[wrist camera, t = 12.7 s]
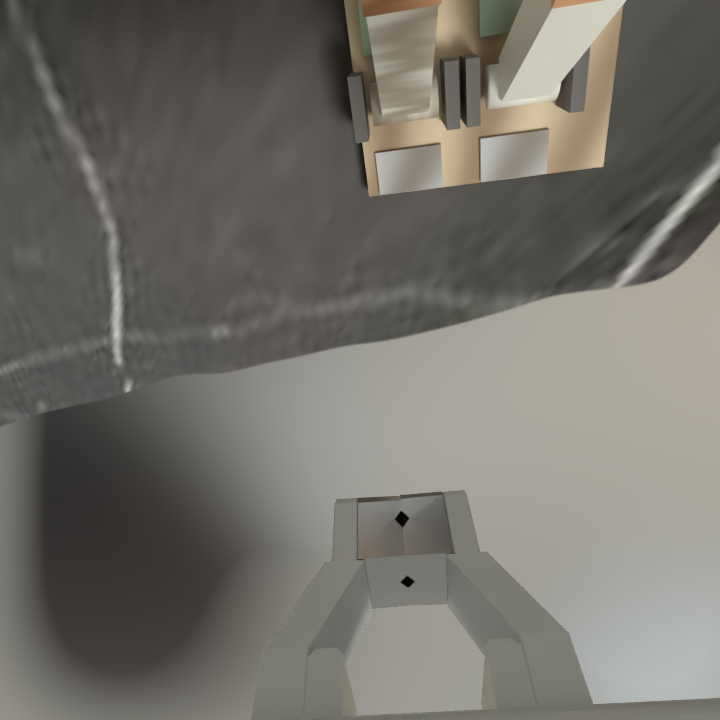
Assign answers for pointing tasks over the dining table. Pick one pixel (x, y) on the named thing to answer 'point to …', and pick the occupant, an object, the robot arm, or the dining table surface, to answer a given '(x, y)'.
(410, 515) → the robot arm
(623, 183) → the dining table surface
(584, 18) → the lever
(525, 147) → the console
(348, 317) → the dining table surface
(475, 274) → the dining table surface
